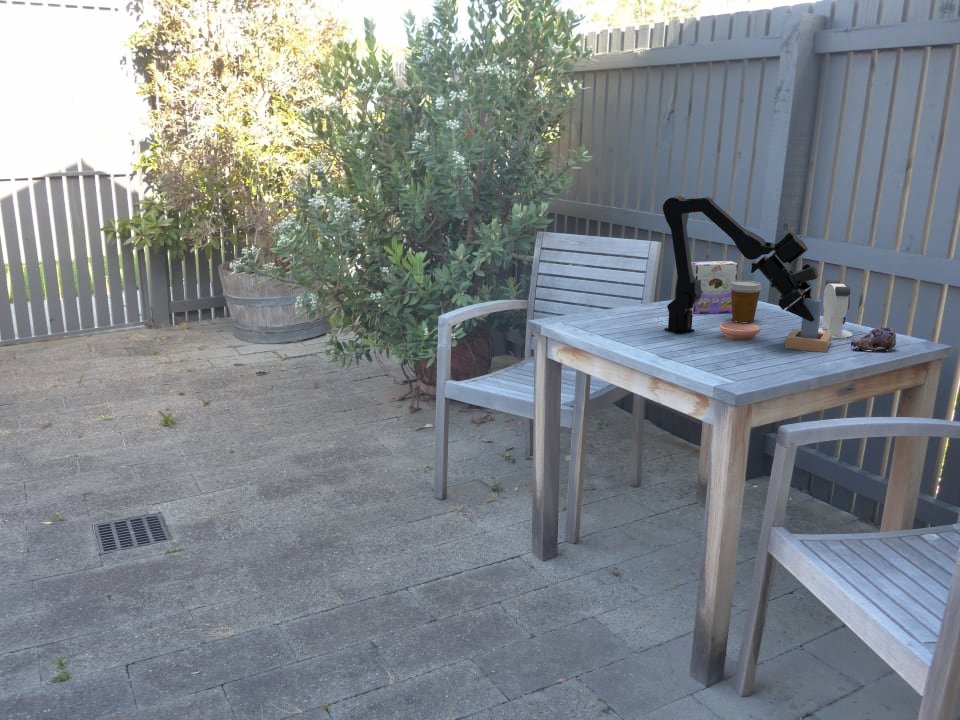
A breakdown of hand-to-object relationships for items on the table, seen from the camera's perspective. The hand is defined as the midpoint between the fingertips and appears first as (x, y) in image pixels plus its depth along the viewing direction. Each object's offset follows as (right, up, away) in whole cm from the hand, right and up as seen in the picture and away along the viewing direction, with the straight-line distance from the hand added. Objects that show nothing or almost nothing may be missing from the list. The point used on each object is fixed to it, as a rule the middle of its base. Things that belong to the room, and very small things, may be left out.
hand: (815, 317), depth 230 cm
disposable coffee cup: (-10, 0, +32) cm, 34 cm away
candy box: (-16, +4, +45) cm, 48 cm away
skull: (+15, -9, -1) cm, 17 cm away
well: (-1, -8, +3) cm, 8 cm away
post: (-1, -8, +3) cm, 8 cm away
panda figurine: (+11, -4, +16) cm, 20 cm away
